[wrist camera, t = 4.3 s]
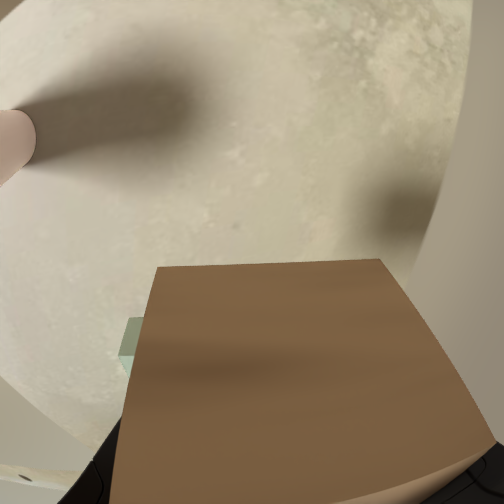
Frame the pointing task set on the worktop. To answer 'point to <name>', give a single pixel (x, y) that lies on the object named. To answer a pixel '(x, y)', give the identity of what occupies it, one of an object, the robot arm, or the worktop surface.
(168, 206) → the worktop surface
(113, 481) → the walnut cube
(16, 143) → the smoothie
